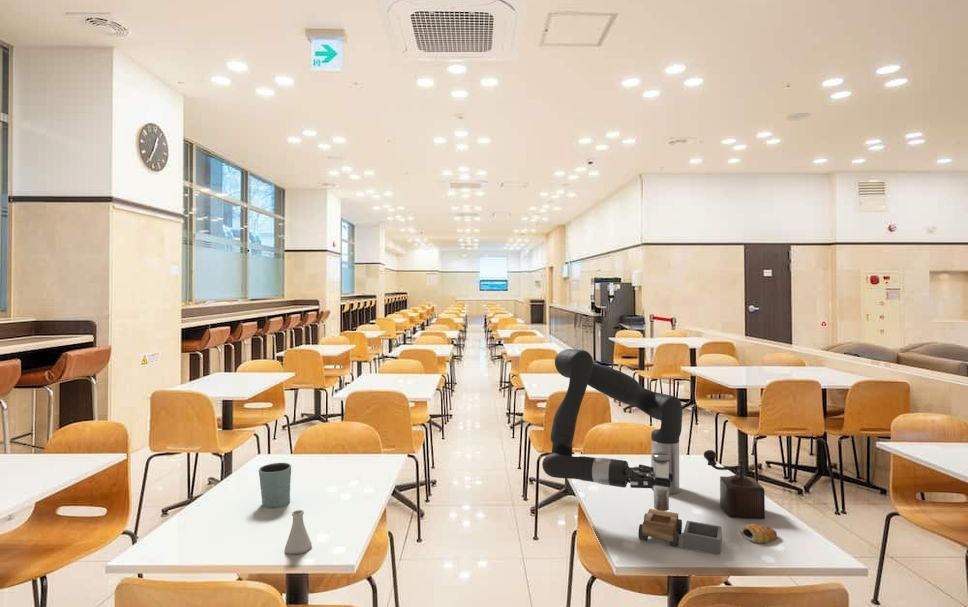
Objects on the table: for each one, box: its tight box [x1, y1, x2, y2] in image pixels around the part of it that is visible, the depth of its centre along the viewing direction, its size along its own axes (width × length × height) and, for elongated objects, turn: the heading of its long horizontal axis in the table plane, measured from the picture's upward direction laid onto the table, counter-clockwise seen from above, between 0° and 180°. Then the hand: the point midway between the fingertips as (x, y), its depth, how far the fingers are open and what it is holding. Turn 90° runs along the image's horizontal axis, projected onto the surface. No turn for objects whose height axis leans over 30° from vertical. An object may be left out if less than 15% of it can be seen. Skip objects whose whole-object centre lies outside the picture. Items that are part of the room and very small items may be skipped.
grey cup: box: [258, 462, 292, 509], centre depth 175 cm, size 10×10×12 cm
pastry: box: [739, 523, 778, 544], centre depth 148 cm, size 9×7×4 cm
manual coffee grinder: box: [703, 449, 766, 520], centre depth 166 cm, size 16×11×18 cm
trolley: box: [638, 508, 683, 548], centre depth 150 cm, size 14×10×5 cm
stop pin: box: [652, 453, 670, 512], centre depth 149 cm, size 5×5×15 cm
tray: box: [682, 520, 723, 556], centre depth 144 cm, size 9×9×4 cm
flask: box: [284, 509, 313, 555], centre depth 144 cm, size 7×7×10 cm
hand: (671, 480), depth 148 cm, fingers closed on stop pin, 4 cm apart
